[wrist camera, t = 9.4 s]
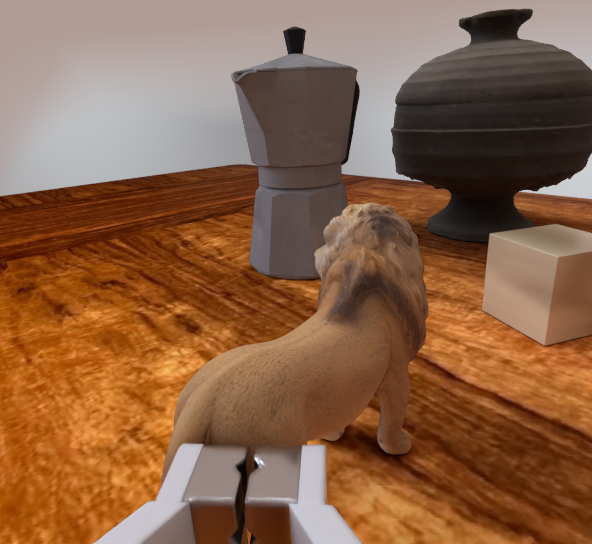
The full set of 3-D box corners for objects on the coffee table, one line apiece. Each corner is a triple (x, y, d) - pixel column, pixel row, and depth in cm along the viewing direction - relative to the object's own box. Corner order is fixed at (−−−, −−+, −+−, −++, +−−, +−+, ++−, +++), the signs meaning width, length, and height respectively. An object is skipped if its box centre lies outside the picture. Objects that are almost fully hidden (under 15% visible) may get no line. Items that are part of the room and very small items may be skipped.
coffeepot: (303, 298, 32) (290, 3, 26) (209, 275, 37) (180, 26, 31) (399, 243, 43) (405, 30, 37) (316, 231, 49) (310, 44, 43)
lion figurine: (329, 370, 23) (325, 191, 20) (437, 395, 21) (451, 197, 18) (84, 674, 11) (-20, 337, 8) (277, 819, 9) (235, 417, 6)
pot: (346, 227, 47) (362, 7, 41) (437, 212, 59) (460, 39, 53) (527, 269, 35) (587, -37, 29) (596, 239, 46) (649, 17, 41)
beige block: (544, 297, 30) (556, 223, 29) (615, 329, 26) (633, 244, 24) (481, 310, 29) (489, 233, 27) (544, 346, 24) (558, 256, 23)
